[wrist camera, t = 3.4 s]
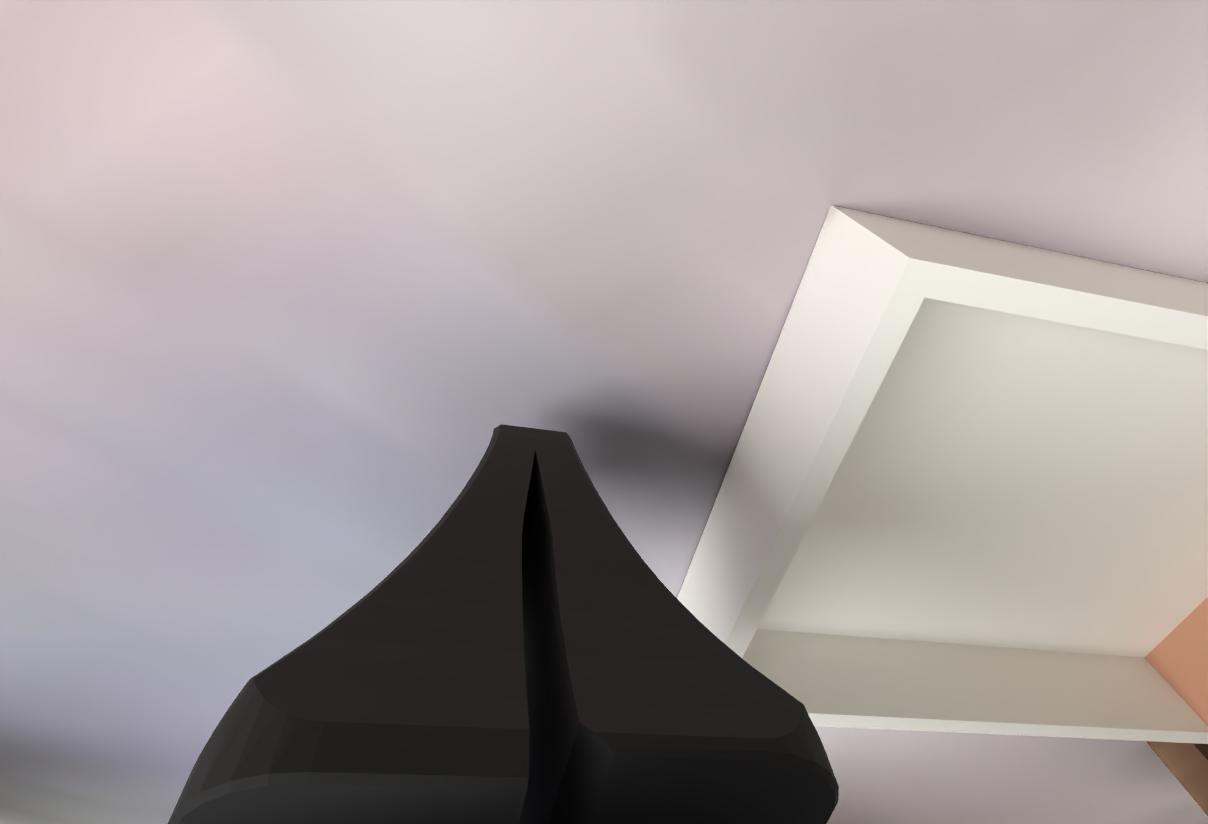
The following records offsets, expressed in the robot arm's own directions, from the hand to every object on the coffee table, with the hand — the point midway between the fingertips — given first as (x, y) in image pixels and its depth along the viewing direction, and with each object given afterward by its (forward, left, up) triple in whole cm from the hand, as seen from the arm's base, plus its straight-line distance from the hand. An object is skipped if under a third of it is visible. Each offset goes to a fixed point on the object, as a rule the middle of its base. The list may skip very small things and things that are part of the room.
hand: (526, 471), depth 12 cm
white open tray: (0, -12, -1) cm, 12 cm away
